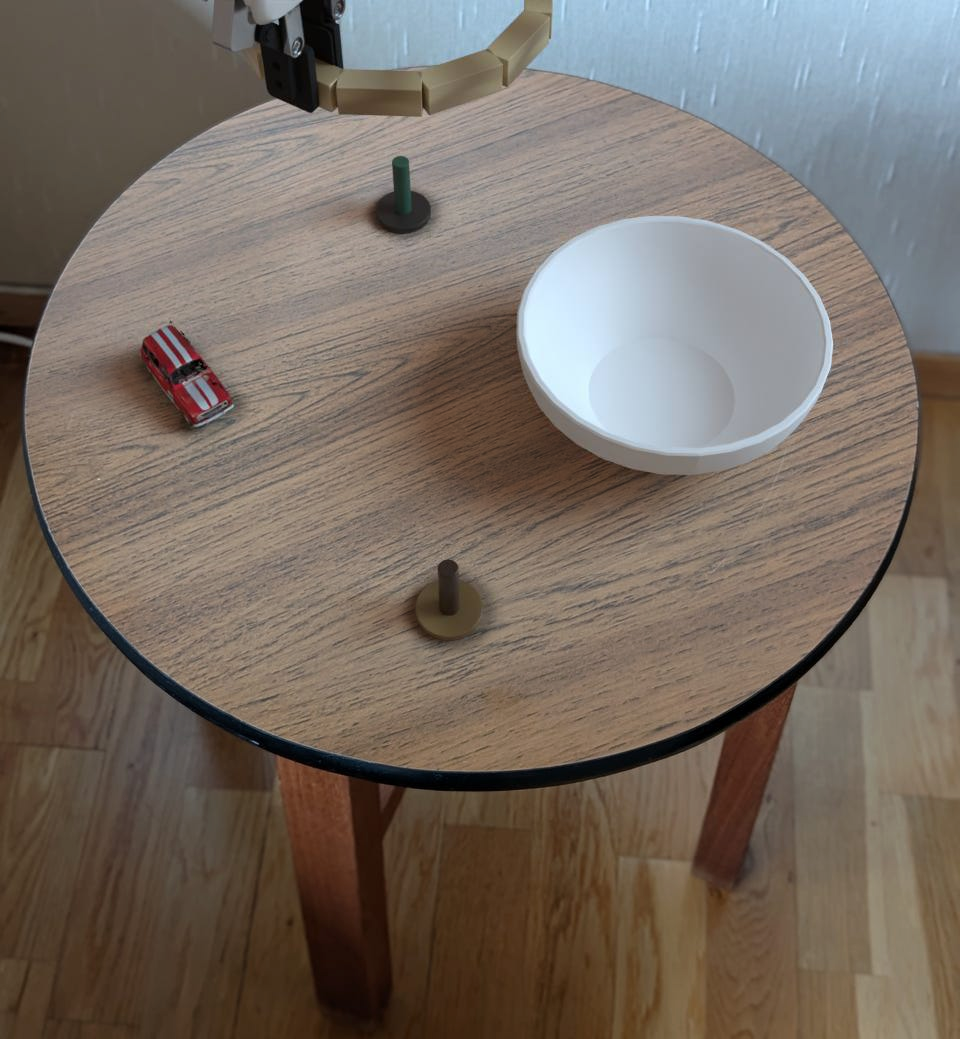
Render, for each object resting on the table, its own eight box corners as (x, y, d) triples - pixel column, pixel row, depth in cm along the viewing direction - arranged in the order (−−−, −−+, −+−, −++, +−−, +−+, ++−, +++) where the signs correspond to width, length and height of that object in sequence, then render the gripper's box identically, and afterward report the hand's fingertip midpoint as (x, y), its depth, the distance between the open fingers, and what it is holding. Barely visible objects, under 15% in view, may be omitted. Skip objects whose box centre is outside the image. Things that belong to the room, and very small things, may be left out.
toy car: (194, 437, 87) (185, 407, 84) (136, 360, 90) (125, 328, 87) (242, 411, 88) (235, 380, 85) (182, 336, 91) (174, 304, 89)
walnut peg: (459, 652, 78) (458, 610, 74) (402, 619, 79) (398, 577, 75) (495, 602, 80) (496, 558, 76) (439, 571, 81) (438, 526, 77)
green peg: (410, 241, 96) (408, 189, 92) (365, 219, 97) (360, 167, 93) (441, 208, 98) (440, 155, 94) (396, 187, 99) (393, 134, 95)
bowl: (777, 282, 94) (798, 206, 88) (838, 512, 84) (866, 445, 78) (501, 296, 93) (503, 221, 87) (527, 531, 83) (531, 464, 77)
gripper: (301, -346, 64) (333, -6, 79) (80, -197, 56) (163, 146, 72) (433, -303, 61) (440, 37, 77) (221, -142, 54) (275, 199, 69)
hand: (306, 88), depth 74 cm, fingers closed
